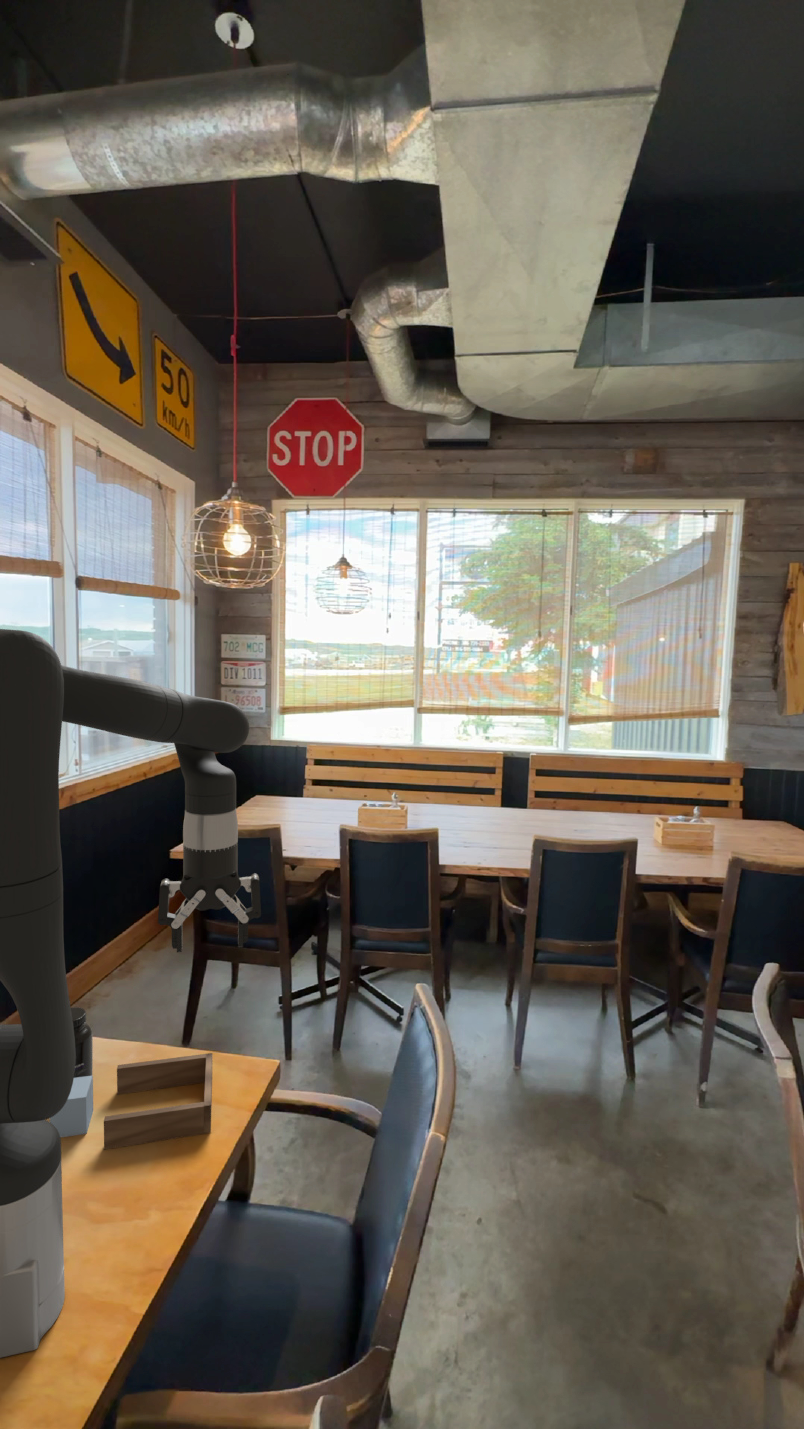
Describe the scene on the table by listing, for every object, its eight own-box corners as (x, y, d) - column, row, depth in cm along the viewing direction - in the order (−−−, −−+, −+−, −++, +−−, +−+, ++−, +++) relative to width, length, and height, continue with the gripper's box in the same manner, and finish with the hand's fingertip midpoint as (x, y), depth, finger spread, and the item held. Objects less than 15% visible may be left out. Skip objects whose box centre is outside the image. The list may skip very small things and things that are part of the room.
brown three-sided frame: (210, 1132, 99) (210, 1105, 99) (104, 1149, 95) (103, 1121, 95) (212, 1077, 112) (212, 1052, 111) (118, 1090, 108) (117, 1065, 107)
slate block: (86, 1133, 98) (86, 1096, 98) (50, 1139, 97) (49, 1101, 96) (93, 1110, 103) (92, 1075, 102) (58, 1115, 102) (57, 1079, 101)
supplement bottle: (70, 1100, 105) (68, 1030, 104) (37, 1089, 107) (35, 1021, 106) (102, 1074, 112) (101, 1008, 110) (71, 1064, 114) (69, 1000, 112)
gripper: (155, 850, 88) (156, 964, 90) (262, 845, 92) (261, 954, 93) (160, 834, 95) (161, 940, 97) (260, 830, 99) (259, 932, 100)
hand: (210, 947), depth 95 cm, fingers open, 8 cm apart
